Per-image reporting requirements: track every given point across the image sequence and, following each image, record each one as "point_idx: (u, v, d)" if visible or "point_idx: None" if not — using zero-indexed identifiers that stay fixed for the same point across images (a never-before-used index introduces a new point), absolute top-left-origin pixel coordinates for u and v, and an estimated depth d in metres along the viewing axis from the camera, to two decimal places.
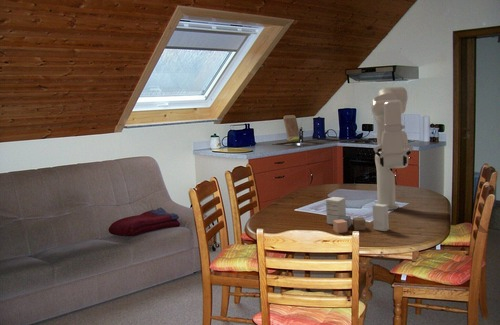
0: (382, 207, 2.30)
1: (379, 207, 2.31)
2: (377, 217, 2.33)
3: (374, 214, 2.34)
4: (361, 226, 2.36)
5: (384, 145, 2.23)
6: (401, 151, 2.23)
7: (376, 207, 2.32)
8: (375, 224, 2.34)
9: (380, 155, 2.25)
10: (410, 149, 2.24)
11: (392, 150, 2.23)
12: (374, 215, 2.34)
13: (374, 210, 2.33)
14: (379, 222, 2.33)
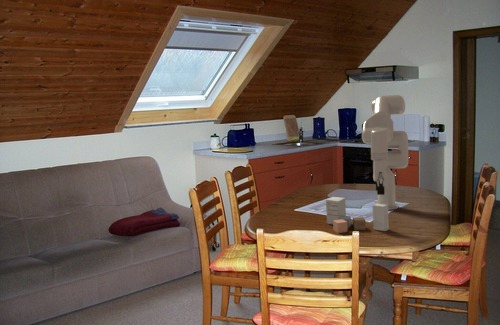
0: (382, 207, 2.30)
1: (379, 207, 2.31)
2: (377, 217, 2.33)
3: (374, 214, 2.34)
4: (361, 226, 2.36)
5: (385, 173, 2.26)
6: None
7: (376, 207, 2.32)
8: (375, 224, 2.34)
9: (383, 183, 2.26)
10: None
11: None
12: (374, 215, 2.34)
13: (374, 210, 2.33)
14: (379, 222, 2.33)
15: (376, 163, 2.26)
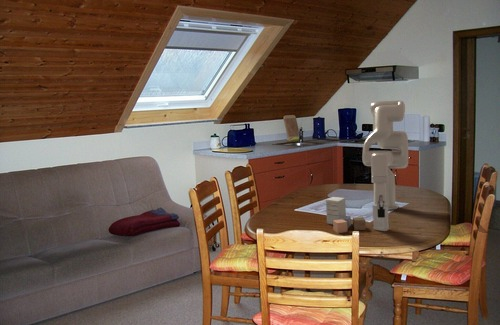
0: None
1: None
2: (377, 217, 2.33)
3: (374, 214, 2.34)
4: (361, 226, 2.36)
5: (385, 196, 2.28)
6: None
7: (376, 207, 2.32)
8: (375, 224, 2.34)
9: None
10: None
11: None
12: (374, 215, 2.34)
13: (374, 210, 2.33)
14: (379, 222, 2.33)
15: (376, 186, 2.27)
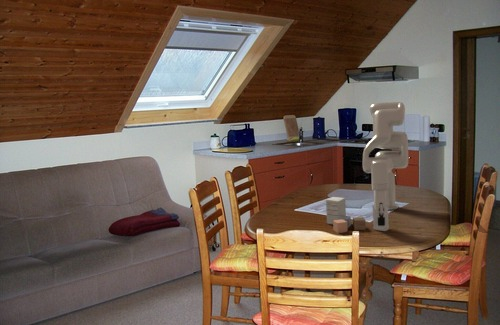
0: None
1: None
2: (377, 217, 2.33)
3: (374, 214, 2.34)
4: (361, 226, 2.36)
5: (385, 203, 2.29)
6: None
7: None
8: (375, 224, 2.34)
9: None
10: None
11: None
12: (374, 215, 2.34)
13: (374, 210, 2.33)
14: None
15: (377, 194, 2.28)
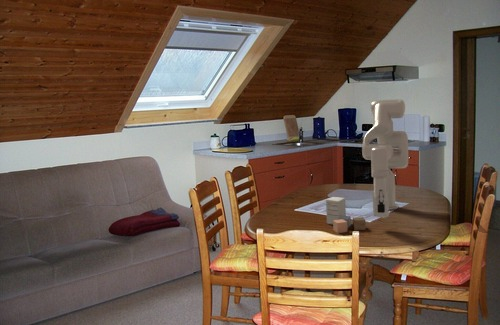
0: None
1: None
2: (377, 204, 2.33)
3: (374, 201, 2.33)
4: (361, 226, 2.36)
5: (385, 190, 2.28)
6: None
7: None
8: (375, 211, 2.34)
9: None
10: None
11: None
12: (374, 202, 2.34)
13: (374, 197, 2.33)
14: None
15: (376, 181, 2.28)
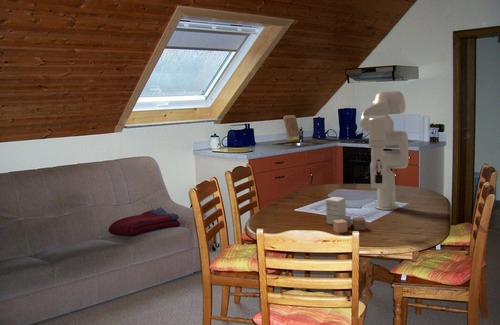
0: None
1: None
2: (374, 175, 2.31)
3: (371, 172, 2.32)
4: (361, 226, 2.36)
5: (383, 160, 2.27)
6: None
7: None
8: (372, 182, 2.32)
9: (381, 172, 2.27)
10: None
11: None
12: (371, 173, 2.32)
13: (371, 168, 2.31)
14: None
15: (374, 151, 2.26)
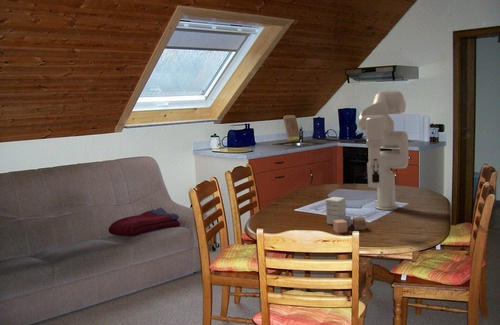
0: None
1: None
2: (371, 174, 2.32)
3: (368, 171, 2.33)
4: (361, 226, 2.36)
5: (380, 159, 2.28)
6: None
7: None
8: (369, 181, 2.34)
9: (378, 171, 2.28)
10: None
11: None
12: (368, 172, 2.33)
13: (368, 167, 2.33)
14: None
15: (371, 150, 2.27)
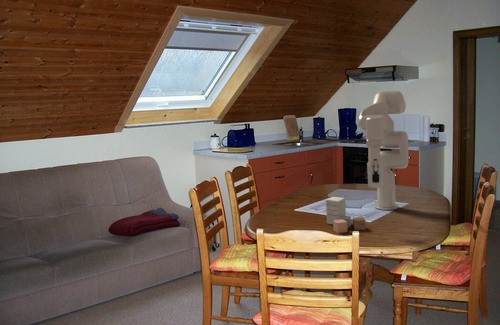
0: None
1: None
2: (371, 174, 2.32)
3: (368, 171, 2.33)
4: (361, 226, 2.36)
5: (380, 159, 2.28)
6: None
7: None
8: (369, 181, 2.34)
9: (378, 171, 2.28)
10: None
11: None
12: (368, 172, 2.33)
13: (368, 167, 2.33)
14: None
15: (371, 150, 2.27)
